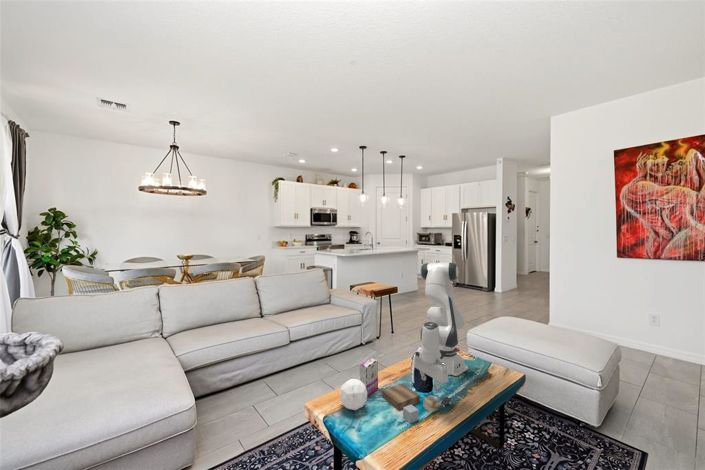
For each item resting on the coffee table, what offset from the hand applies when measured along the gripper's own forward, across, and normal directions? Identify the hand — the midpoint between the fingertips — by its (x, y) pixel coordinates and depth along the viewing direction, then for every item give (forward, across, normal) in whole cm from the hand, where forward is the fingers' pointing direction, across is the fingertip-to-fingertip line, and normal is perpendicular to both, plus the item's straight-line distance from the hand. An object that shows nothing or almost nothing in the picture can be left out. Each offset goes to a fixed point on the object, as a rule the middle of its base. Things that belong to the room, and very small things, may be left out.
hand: (430, 384), depth 149 cm
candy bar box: (+13, +29, +18) cm, 36 cm away
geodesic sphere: (+13, +19, +33) cm, 40 cm away
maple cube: (+13, 0, -1) cm, 13 cm away
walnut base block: (+13, +14, +7) cm, 21 cm away
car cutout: (+13, -2, -14) cm, 19 cm away
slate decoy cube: (+13, -1, +13) cm, 19 cm away
